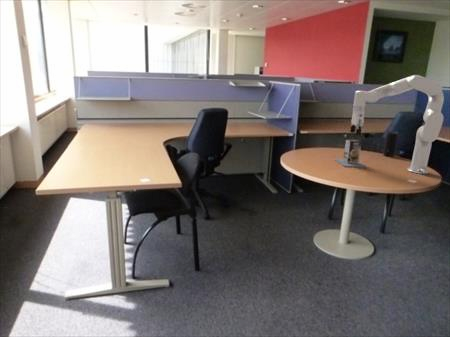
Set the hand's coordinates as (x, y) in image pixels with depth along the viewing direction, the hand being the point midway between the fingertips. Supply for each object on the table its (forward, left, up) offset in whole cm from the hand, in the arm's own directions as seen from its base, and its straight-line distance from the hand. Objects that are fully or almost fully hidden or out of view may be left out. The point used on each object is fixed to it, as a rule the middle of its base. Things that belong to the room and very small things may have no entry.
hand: (355, 133), depth 243 cm
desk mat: (0, 0, -22) cm, 22 cm away
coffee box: (0, 0, -21) cm, 21 cm away
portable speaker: (+31, -44, -22) cm, 58 cm away
